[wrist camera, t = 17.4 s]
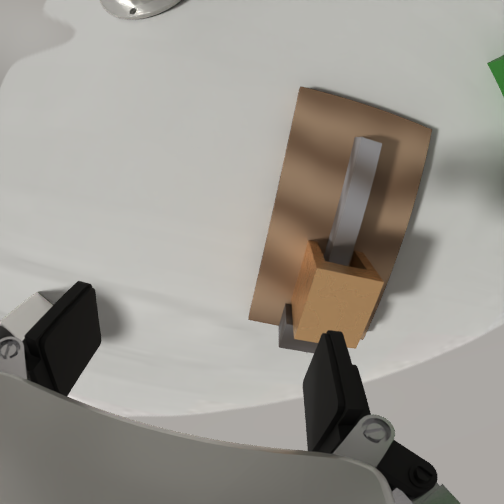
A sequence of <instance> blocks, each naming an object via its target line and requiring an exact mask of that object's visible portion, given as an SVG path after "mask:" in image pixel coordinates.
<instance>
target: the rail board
mask: <svg viewBox="0 0 504 504" xmlns="http://www.w3.org/2000/svg"><path fill="white" fill-rule="evenodd" d="M431 132H432V130H431V129H429V128H427V127H424V126H422V125H420V124H417V123H415V122H412V121H410V120H407V119H405V118H402V117H399V116H397V115H394V114H391V113H389V112H386V111H383V110H380V109H377V108H374V107H371V106H368V105H365V104H362V103H359V102H356V101H353V100H349V99H346V98H343V97H339V96H336V95H332V94H328V93H325V92H321V91H317V90H313V89H309V88H305V87H300V89H299V93H298V98H297V103H296V107H295V112H294V117H293V121H292V126H291V131H290V135H289V140H288V144H287V149H286V154H285V158H284V163H283V167H282V172H281V176H280V181H279V185H278V190H277V194H276V199H275V203H274V208H273V212H272V217H271V221H270V226H269V230H268V234H267V239H266V243H265V248H264V252H263V256H262V261H261V265H260V269H259V274H258V278H257V282H256V287H255V291H254V295H253V300H252V304H251V308H250V313H249V319H248V320H253V321H258V322H263V323H268V324H273V325H278V326H279V347H280V348H286V349H292V350H298V351H304V352H310V353H315V350H316V348H317V345H318V343H315V342H309V341H303V340H297V339H294V331H293V318H292V305H291V299H292V296H293V292H294V289H295V286H296V282H297V279H298V275H299V272H300V268H301V265H302V261H303V258H304V254H305V250H306V247H307V243H308V240H310V241H315V242H318V244H319V246H320V249H321V251H322V254H323V256H324V259H325V261H327V262H332V263H336V264H341V265H346V266H350V263H351V260H352V257H353V254H354V251H358V252H362V253H364V254H365V256H366V257H367V259H368V260H369V261H370V263H371V264H372V266H373V267H374V268H375V270H376V271H377V273H378V274H379V276H380V277H381V279H382V280H383V281H384V284H383V286H382V289H381V292H380V294H379V297H378V299H377V301H376V304H375V306H374V309H373V311H372V313H371V316H370V318H369V320H368V323H367V325H366V327H365V329H364V332H363V334H362V336H361V338H360V339H362V340H363V339H364V337H365V335H366V332H367V330H368V328H369V326H370V323H371V321H372V319H373V317H374V314H375V312H376V310H377V307H378V305H379V302H380V300H381V297H382V295H383V292H384V290H385V287H386V285H387V282H388V280H389V277H390V274H391V272H392V269H393V266H394V264H395V261H396V258H397V255H398V252H399V250H400V247H401V244H402V241H403V238H404V235H405V232H406V229H407V225H408V222H409V219H410V216H411V212H412V209H413V206H414V202H415V199H416V195H417V191H418V188H419V184H420V180H421V176H422V172H423V168H424V164H425V160H426V156H427V151H428V147H429V142H430V137H431Z"/></svg>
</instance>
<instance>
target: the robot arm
mask: <svg viewBox="0 0 504 504" xmlns="http://www.w3.org/2000/svg"><path fill="white" fill-rule="evenodd" d="M180 1H181V0H100V3H101V5H102V7H103V8H104V9H105V10H106V11H107V12H108V13H110V14H111V15H113V16H115V17H118V18H121V19H127V20H134V19H142V18H147V17H150V16H153V15H157V14H159V13H161V12H163V11H165V10H167V9H169V8H171V7H172V6H174V5H176V4H177V3H178V2H180ZM24 337H25V339H24V340H23V341H21V340H20V339H19V338H17V337H5V338H2V339H1V340H0V504H460V503H459V501H458V500H457V499H456V498H455V497H454V496H453V495H452V494H451V493H450V492H449V491H448V490H447V488H445V486H444V485H443V484H442V485H441V486H439V485H438V483H437V473H436V470H435V469H434V467H433V466H432V465H431V464H430V463H429V462H427V461H425V460H424V459H422V458H421V457H419V456H418V455H416V454H414V453H413V452H411V451H410V450H408V449H407V448H405V447H404V446H402V445H401V444H399V443H398V442H396V441H395V440H394V436H395V430H394V428H393V426H392V424H391V423H390V422H389V421H388V420H387V419H386V418H384V417H381V416H379V415H371V413H370V410H369V406H368V402H367V399H366V395H365V391H364V388H363V384H362V381H361V377H360V374H359V370H358V368H357V366H356V365H352V363H351V359H350V356H349V352H348V349H347V345H346V342H345V339H344V335H343V333H342V332H341V331H333V330H328V331H327V332H326V333H322V335H321V337H320V340H319V342H318V345H317V348H316V350H315V353H314V355H313V358H312V361H311V363H310V366H309V368H308V371H307V373H306V375H305V378H304V381H303V394H304V406H305V418H306V431H307V444H308V451H302V450H290V449H279V448H270V447H261V446H253V445H246V444H238V443H232V442H225V441H219V440H214V439H209V438H203V437H199V436H194V435H189V434H184V433H180V432H176V431H171V430H167V429H163V428H160V427H156V426H152V425H148V424H145V423H141V422H138V421H134V420H131V419H128V418H125V417H122V416H119V415H115V414H112V413H109V412H106V411H104V410H101V409H98V408H95V407H92V406H90V405H87V404H84V403H82V402H79V401H77V400H74V399H72V398H69V397H67V396H68V394H69V392H70V391H71V389H72V388H73V386H74V384H75V383H76V381H77V380H78V378H79V376H80V375H81V373H82V372H83V370H84V369H85V367H86V366H87V364H88V362H89V361H90V359H91V358H92V356H93V355H94V353H95V352H96V350H97V349H98V347H99V346H100V343H101V333H100V326H99V319H98V311H97V303H96V294H95V289H94V288H92V285H91V284H88V283H85V282H81V281H78V282H77V283H76V284H75V285H73V286H72V287H71V288H70V289H69V290H68V291H67V292H66V293H65V294H64V295H63V296H62V297H61V298H60V299H59V300H58V301H57V302H56V303H55V304H54V305H53V306H52V307H51V308H50V309H49V310H48V311H47V312H46V313H45V314H44V315H43V316H42V317H41V318H40V319H39V320H38V322H37V323H36V324H35V325H34V326H33V327H32V328H31V329H30V330H29V331H28V332H27V333H26V334H25V335H24Z"/></svg>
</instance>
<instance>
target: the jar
mask: <svg viewBox="0 0 504 504" xmlns="http://www.w3.org/2000/svg"><path fill="white" fill-rule="evenodd" d="M52 306H53V305H52V304H51V303H50V302H49V301H47V300H46V299H45V298H44V297H43V296H41V295H40V294H39V293H38V292H36V293H35V294H33V295H32V296H30V297H29V298H28V299H26V300H25V301H24V302H22V303H21V304H20V305H19V306H17V307H16V308H15V309H14V310H13V311H11V312H10V313H9V314H8V315H7V316H5V317H4V318H3V319H2V320H1V321H0V340H1V339H2V338H5V337H17V338H19V339H20V340H21V341H23V340H24V339H25V337H24V335H25V334H26V333H27V332H28V331H29V330H30V329H31V328H32V327H33V326H34V325H35V324H36V323H37V322H38V320H39V319H40V318H41V317H42V316H43V315H44V314H45V313H46V312H47V311H48V310H49V309H50V308H51V307H52Z"/></svg>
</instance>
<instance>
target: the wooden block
mask: <svg viewBox="0 0 504 504" xmlns="http://www.w3.org/2000/svg"><path fill="white" fill-rule="evenodd" d="M383 284H384V281H383V280H382V279H381V277H380V276H379V274H378V273H377V271H376V270H375V268H374V267H373V266H372V264H371V263H370V261H369V260H368V259H367V257H366V256H365V254H364V253H362V252H358V251H354V254H353V257H352V260H351V263H350V266H346V265H341V264H336V263H332V262H327V261H325V259H324V256H323V254H322V251H321V249H320V246H319V244H318V242H315V241H310V240H308V243H307V247H306V250H305V254H304V258H303V261H302V265H301V268H300V272H299V275H298V279H297V282H296V286H295V289H294V292H293V296H292V299H291V305H292V318H293V331H294V339H297V340H303V341H309V342H315V343H318V342H319V340H320V337H321V335H322V333H326V332H327V331H328V330H333V331H341V332H342V333H343V335H344V339H345V342H346V345H347V347H348V348H355V349H356V347H357V345H358V343H359V340H360V338H361V336H362V334H363V332H364V329H365V327H366V325H367V323H368V320H369V318H370V316H371V313H372V311H373V309H374V306H375V304H376V301H377V299H378V297H379V294H380V292H381V289H382V286H383Z"/></svg>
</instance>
